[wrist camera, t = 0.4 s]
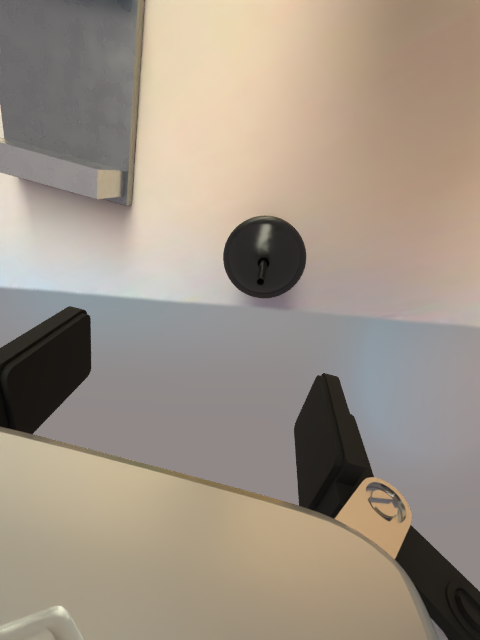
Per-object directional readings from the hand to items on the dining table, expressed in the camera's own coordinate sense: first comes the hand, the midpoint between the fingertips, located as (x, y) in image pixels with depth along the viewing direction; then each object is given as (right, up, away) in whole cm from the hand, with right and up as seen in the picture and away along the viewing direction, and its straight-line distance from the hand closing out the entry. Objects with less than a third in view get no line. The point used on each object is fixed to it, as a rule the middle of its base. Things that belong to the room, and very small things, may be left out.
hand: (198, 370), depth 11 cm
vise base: (-18, +31, +21) cm, 42 cm away
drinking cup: (+6, +14, +27) cm, 31 cm away
